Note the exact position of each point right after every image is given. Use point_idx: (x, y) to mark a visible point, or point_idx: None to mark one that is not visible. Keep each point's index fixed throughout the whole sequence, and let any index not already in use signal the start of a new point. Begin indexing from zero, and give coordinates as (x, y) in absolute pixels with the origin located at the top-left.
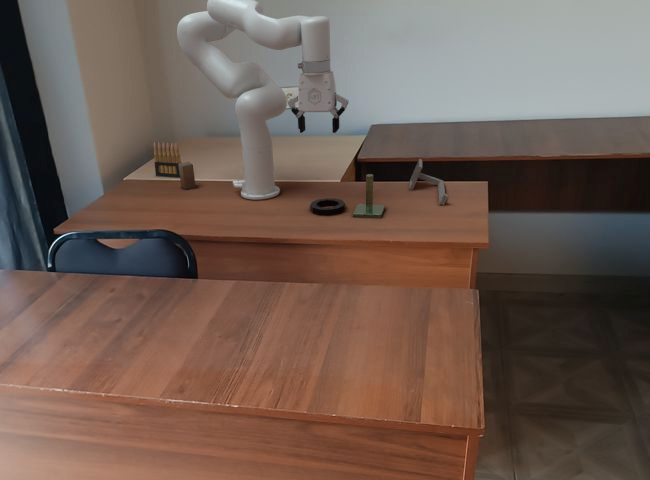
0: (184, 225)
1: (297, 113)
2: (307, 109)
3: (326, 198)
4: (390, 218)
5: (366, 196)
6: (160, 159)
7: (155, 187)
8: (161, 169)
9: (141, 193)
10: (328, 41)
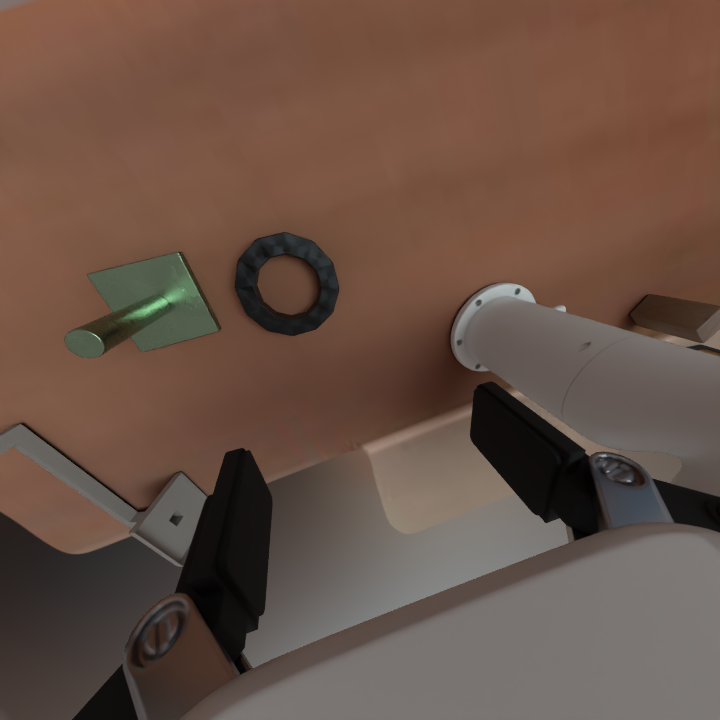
0: None
1: (658, 494)
2: (626, 588)
3: (314, 326)
4: (64, 280)
5: (139, 306)
6: None
7: (705, 285)
8: (708, 352)
9: None
10: None
